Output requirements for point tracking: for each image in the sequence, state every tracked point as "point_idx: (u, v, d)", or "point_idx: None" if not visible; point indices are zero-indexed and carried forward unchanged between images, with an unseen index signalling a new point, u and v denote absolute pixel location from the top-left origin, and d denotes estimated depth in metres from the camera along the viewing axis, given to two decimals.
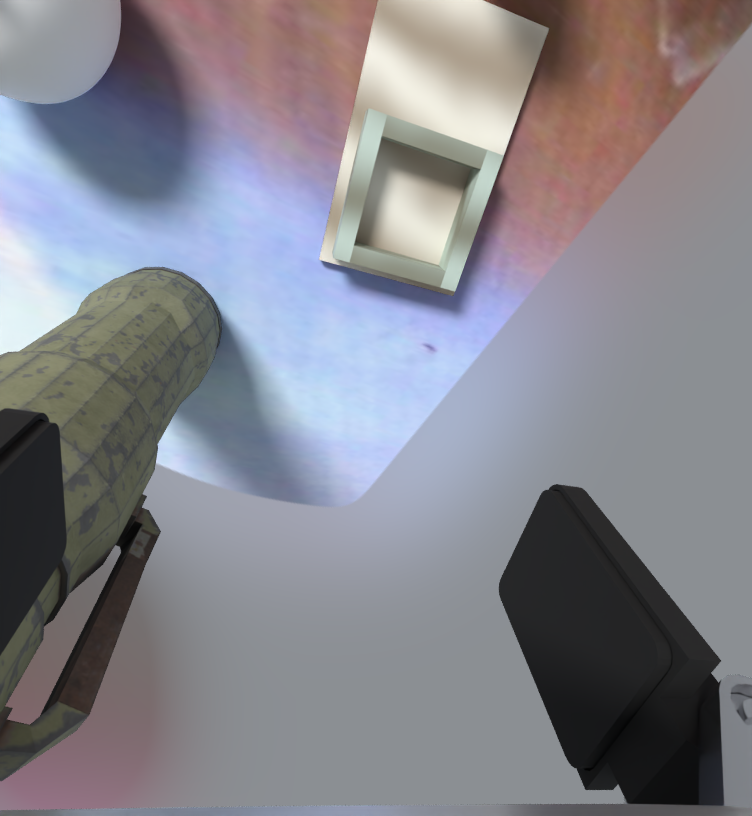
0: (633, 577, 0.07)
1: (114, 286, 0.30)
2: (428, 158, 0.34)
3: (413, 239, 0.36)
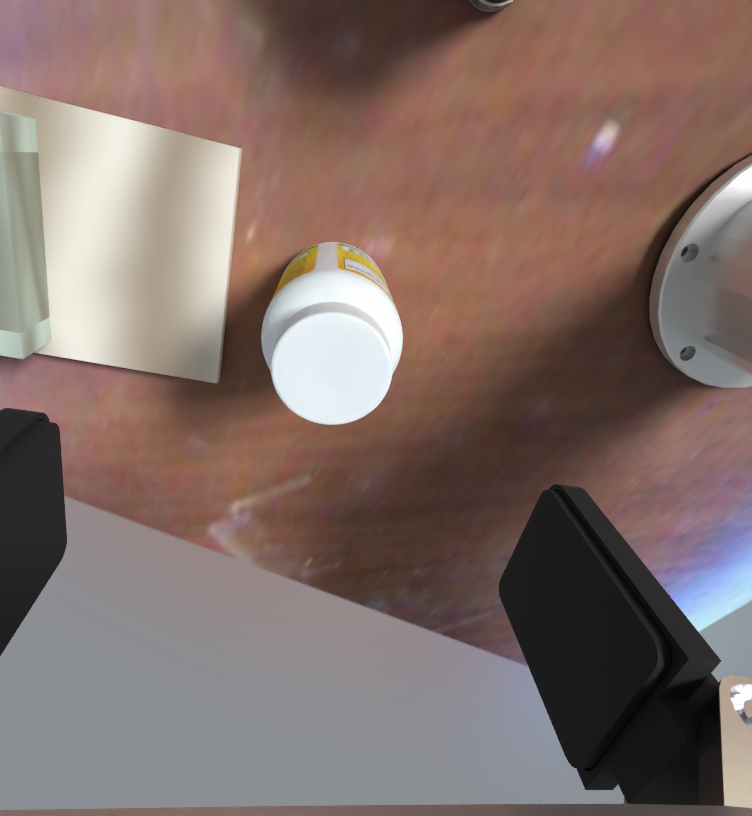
0: (633, 577, 0.07)
1: None
2: None
3: None
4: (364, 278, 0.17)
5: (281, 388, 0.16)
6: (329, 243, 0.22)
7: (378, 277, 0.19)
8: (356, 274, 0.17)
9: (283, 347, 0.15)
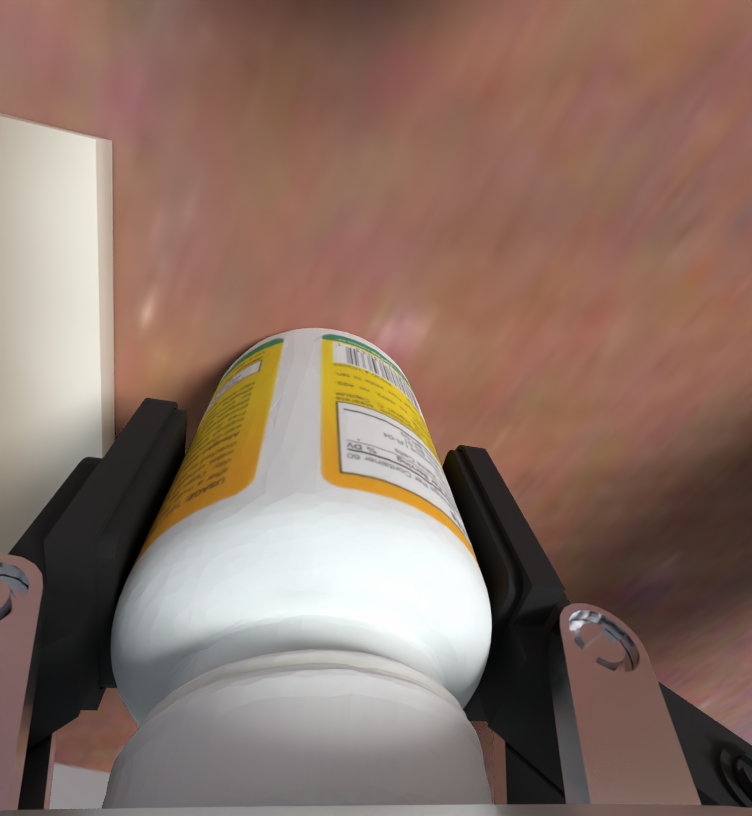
0: (506, 521, 0.08)
1: None
2: None
3: None
4: (397, 510, 0.06)
5: None
6: (306, 334, 0.11)
7: (418, 444, 0.08)
8: (374, 500, 0.06)
9: None
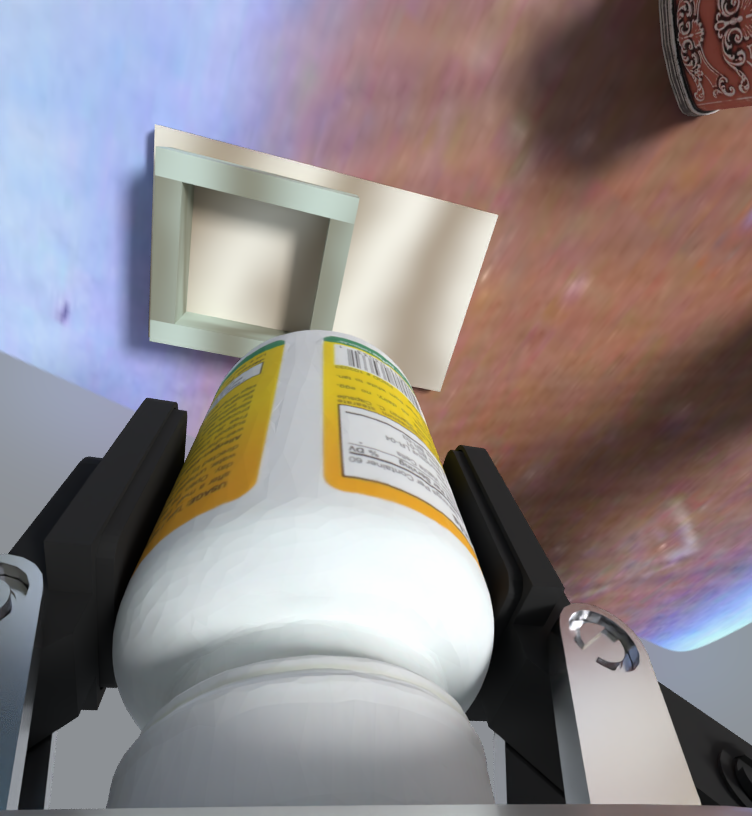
0: (506, 521, 0.08)
1: None
2: (312, 282, 0.27)
3: (213, 272, 0.27)
4: (399, 514, 0.06)
5: None
6: (307, 336, 0.11)
7: (420, 446, 0.08)
8: (376, 503, 0.06)
9: None
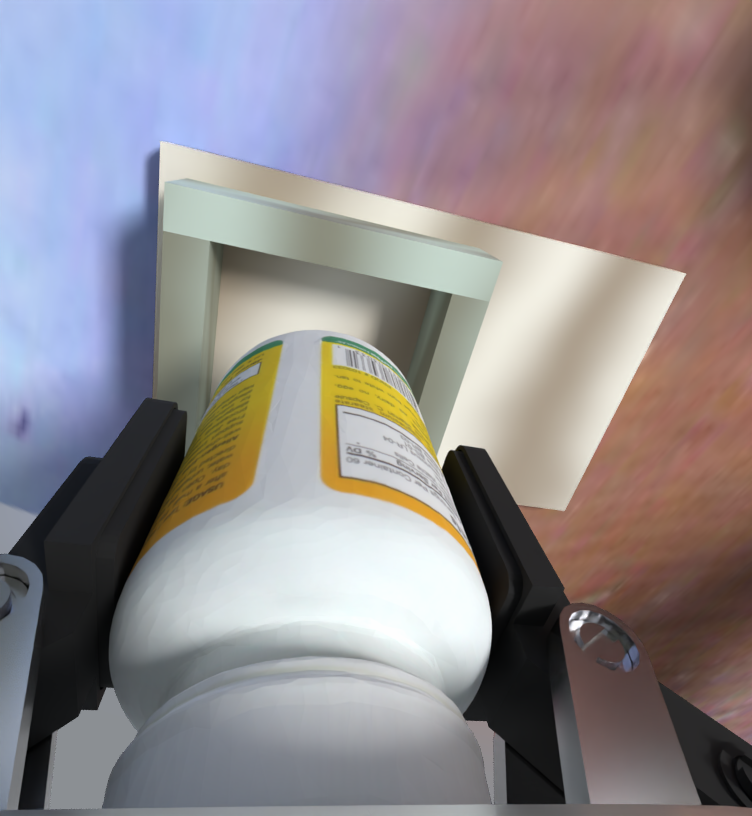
0: (505, 520, 0.08)
1: None
2: None
3: None
4: (396, 515, 0.06)
5: None
6: (305, 336, 0.11)
7: (418, 447, 0.08)
8: (373, 504, 0.06)
9: None
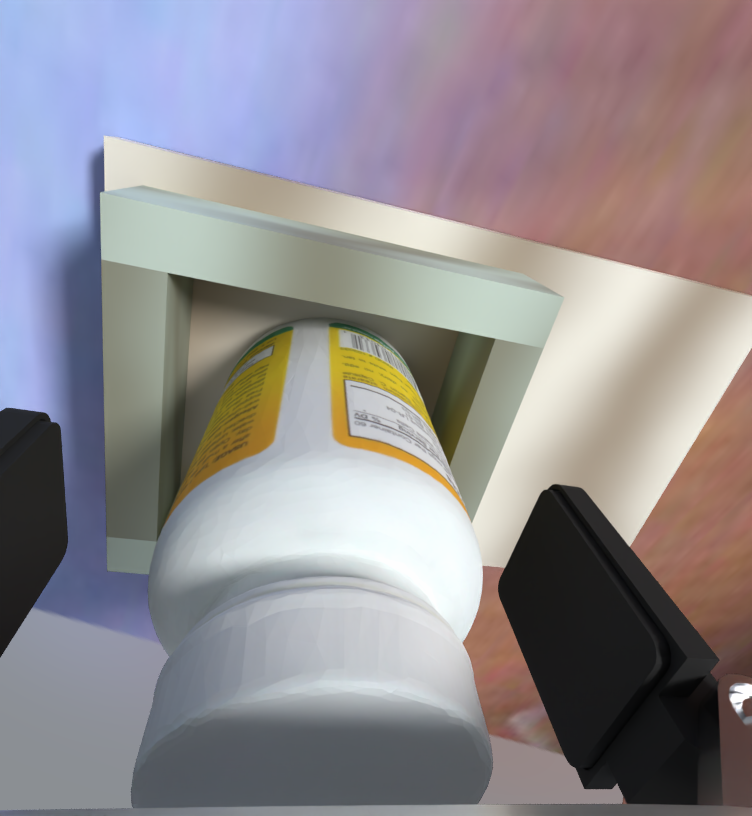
0: (632, 576, 0.07)
1: None
2: None
3: None
4: (399, 467, 0.07)
5: None
6: (314, 322, 0.12)
7: (418, 418, 0.09)
8: (379, 458, 0.07)
9: (162, 770, 0.05)
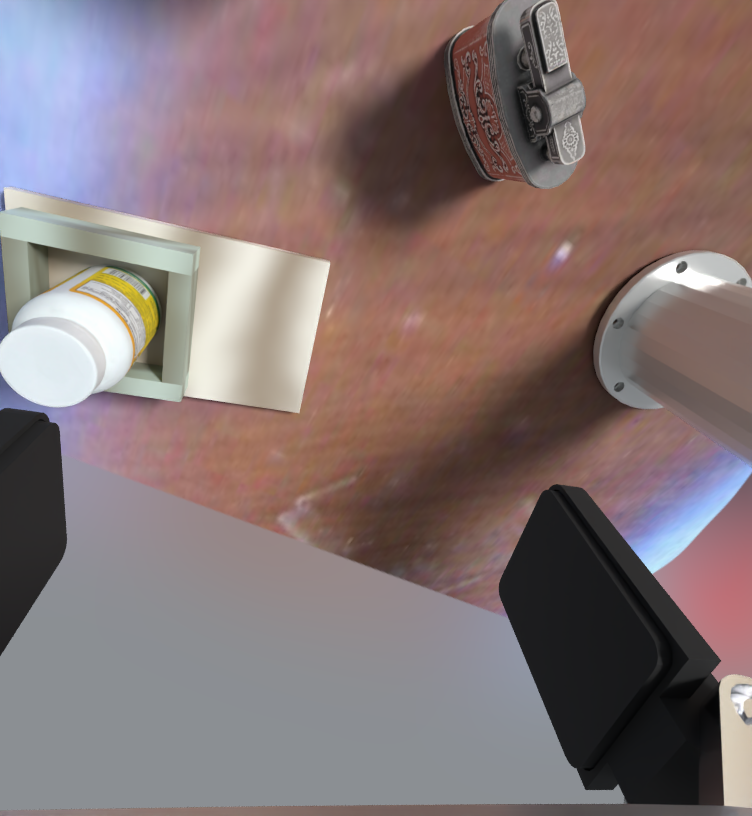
0: (633, 577, 0.07)
1: None
2: None
3: None
4: (87, 298, 0.23)
5: (10, 380, 0.21)
6: (100, 265, 0.28)
7: (120, 295, 0.25)
8: (81, 295, 0.23)
9: (3, 350, 0.21)
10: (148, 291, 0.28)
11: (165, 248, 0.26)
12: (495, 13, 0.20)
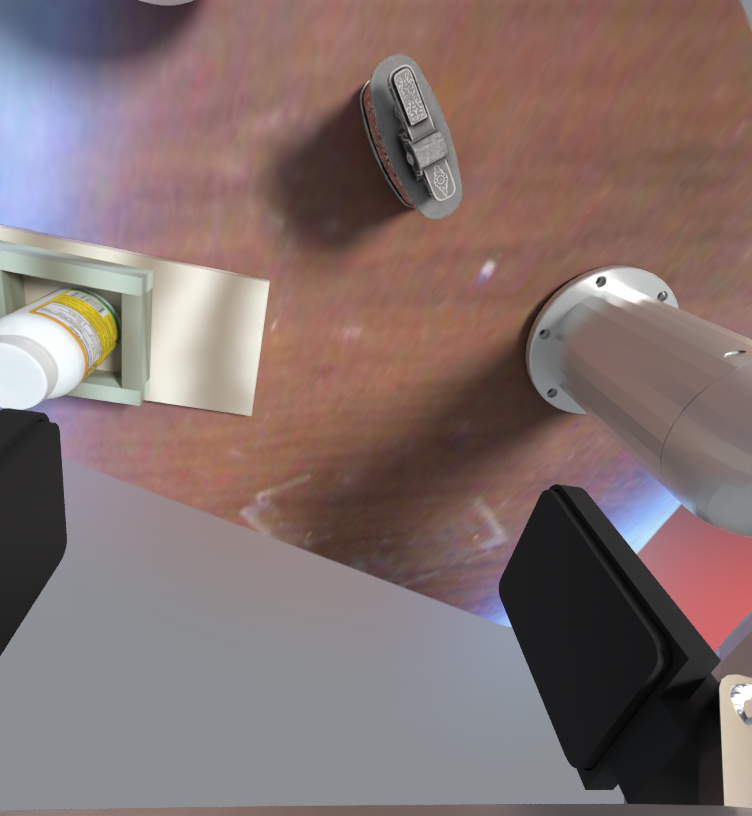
0: (633, 577, 0.07)
1: None
2: None
3: None
4: (43, 318, 0.27)
5: None
6: (66, 288, 0.32)
7: (76, 314, 0.29)
8: (37, 315, 0.27)
9: None
10: (107, 309, 0.33)
11: (117, 273, 0.31)
12: (372, 74, 0.24)
